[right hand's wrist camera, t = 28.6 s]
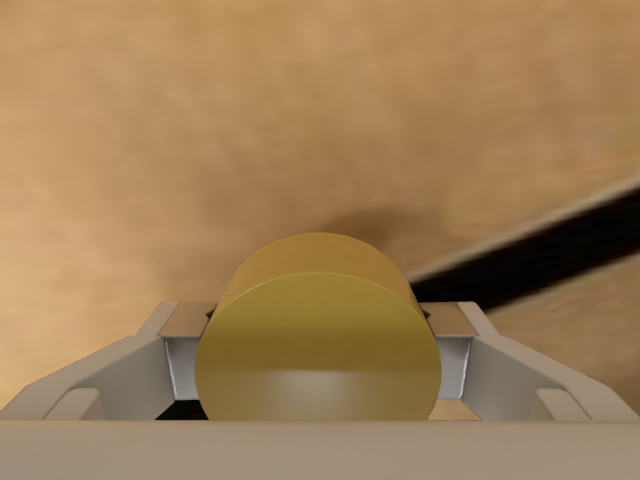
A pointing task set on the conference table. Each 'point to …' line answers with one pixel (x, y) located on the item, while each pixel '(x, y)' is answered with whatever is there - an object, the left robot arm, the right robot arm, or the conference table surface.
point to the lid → (318, 337)
